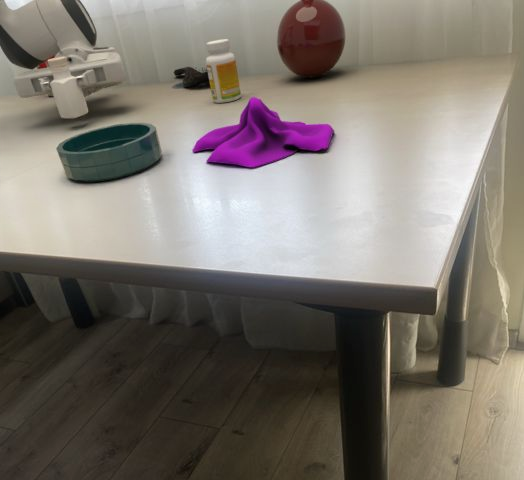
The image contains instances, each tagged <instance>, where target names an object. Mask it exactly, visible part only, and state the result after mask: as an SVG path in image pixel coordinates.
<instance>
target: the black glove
mask: <svg viewBox="0 0 524 480" xmlns="http://www.w3.org/2000/svg"><path fill="white" fill-rule="evenodd" d="M173 74H174V76H175V77H178V76H182V75H184V77H183V79H182V84H183V88H190V87H192V86H194V87H195V86H198V85H201V84H206V83H210V82H209V76H208V71H207V66H206V67H204V68H203V67H201V69H197V66H196V67H195V68H194V67H191V66H185V67H180V68H177V69H174V71H173Z"/></svg>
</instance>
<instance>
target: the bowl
mask: <svg viewBox="0 0 524 480" xmlns="http://www.w3.org/2000/svg"><path fill="white" fill-rule="evenodd" d="M55 149H56V153H57V155H58V157H59V160H60V163H61V166H62V168H63V171H64V174H65V176H66V178H68V179H70V180H74V181H80V182H87V183H88V182H89V183H91V182H92V183H93V182H104V181H110V180H117V179H120V178H124V177H128V176H131V175H135V174H136V173H140V172H142V171H143V170H145V169H147V168H149V167H151V166H152V165H153V164H154V163H156V162H157V161H158V160H159V159H160V158H161V157H162V153H163V152H162V147H161V143H160V140H159V135H158V131H157V127H156V126H155V125H153V124H152V123H147V122H126V123H119V124H118V123H117V124H113V125H112V124H111V125H106V126H102V127H98V128H94V129H91V130H88V131H84V132H81V133H78V134H76V135H72V136H70V137H69V138H67V139H65V140H63V141H62V142H60V143H58V145H57V146H56V148H55Z"/></svg>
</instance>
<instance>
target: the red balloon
mask: <svg viewBox="0 0 524 480" xmlns="http://www.w3.org/2000/svg"><path fill="white" fill-rule="evenodd" d="M345 45H346V28H345V23H344V20H343V18H342V15H341V14H340V12H339V11H338V10H337V8H336V7H335V6H334V5H333V4H331V2H328V1H327V0H298V1H296V2H295V3H293V4H291V6H290V7H289V8H288V9H287V10H286V11H285V13H283V15H282V17H281V19H280V21H279V24H278V27H277V32H276V47H277V52H278V54H279V58H280V59H281V61H282V63H283V64H284V66H285V68H287V69H288V70H289V71H290V72H291V73H292V74H294V75H296V76H299V77H302V78H309V79H312V78H317V77H320V76H324V75H325V74H327V73H328V72H330V71H331V70H332V69H334V67H335V66H336V65H337V63H338V62H339V61H340V59H341V57H342V54H343V52H344V49H345Z"/></svg>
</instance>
